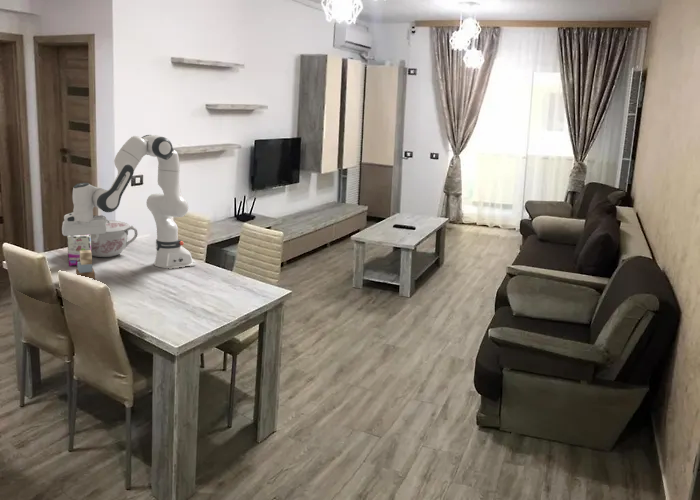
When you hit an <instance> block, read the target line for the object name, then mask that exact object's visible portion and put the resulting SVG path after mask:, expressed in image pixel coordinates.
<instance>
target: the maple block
mask: <svg viewBox="0 0 700 500" xmlns="http://www.w3.org/2000/svg"><path fill="white" fill-rule="evenodd" d="M80 263H81V265H87V264H92V265H93V256H92V252H91V250H82V251H80Z"/></svg>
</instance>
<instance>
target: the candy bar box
mask: <svg viewBox="0 0 700 500" xmlns="http://www.w3.org/2000/svg"><path fill="white" fill-rule="evenodd" d="M73 239H74V240H76V243H77V244H73V240H72V239H71V237H70V236H66V244H67V261H68V267H78V264H77V262H80V251H82V250H91V235H74V237H73Z"/></svg>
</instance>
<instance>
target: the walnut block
mask: <svg viewBox="0 0 700 500" xmlns="http://www.w3.org/2000/svg"><path fill="white" fill-rule="evenodd" d="M92 269H93V272H85V273H79V271H78V268H75V275H76V274H77V275H81V276H85V277H89V278H93V279H92V280H95V279H96V274H95V273H96V272H95V270H94V267H92Z"/></svg>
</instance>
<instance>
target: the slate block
mask: <svg viewBox="0 0 700 500" xmlns="http://www.w3.org/2000/svg"><path fill="white" fill-rule="evenodd" d="M77 264H78V266H77V269H78V271H79V273H85V272H93V269H94V268H93V263H92V264H87V265H81V263H80V262H77ZM92 268H93V269H92Z"/></svg>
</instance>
